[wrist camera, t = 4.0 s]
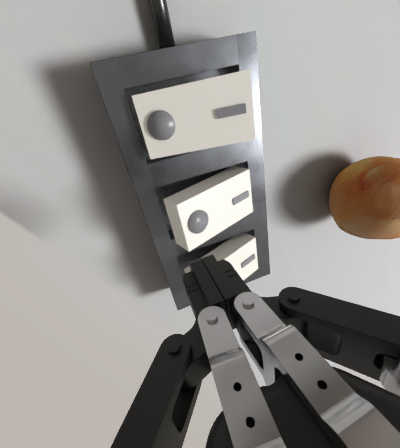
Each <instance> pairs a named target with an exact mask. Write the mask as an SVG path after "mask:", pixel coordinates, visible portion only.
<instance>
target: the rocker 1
mask: <svg viewBox="0 0 400 448" xmlns="http://www.w3.org/2000/svg"><path fill="white" fill-rule="evenodd" d="M132 99H133V103H134V106H135V109H136V113H137V116H138V119H139V123H140V126H141V129H142V133H143V136H144V139H145V143H146V146H147V149H148V153H149V156H150V159H155V158H161V157H166V156H171V155H177V154H182V153H187V152H192V151H198V150H203V149H208V148H213V147H219V146H224V145H229V144H235V143H240V142H245V141H250V140H255V127H254V113H253V99H252V85H251V71H250V69H248V70H243V71H239V72H235V73H230V74H226V75H221V76H217V77H212V78H208V79H204V80H199V81H195V82H190V83H186V84H181V85H177V86H173V87H168V88H164V89H159V90H155V91H150V92H146V93H142V94H137V95H133V96H132Z"/></svg>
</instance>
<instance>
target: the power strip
mask: <svg viewBox="0 0 400 448" xmlns="http://www.w3.org/2000/svg"><path fill="white" fill-rule="evenodd" d="M149 1H150V6H151V10H152V15H153V19H154V23H155V28H156V32H157V37H158V41H159V46H160V49H158V50H153V51H148V52H143V53H138V54H132V55H127V56H122V57H117V58H112V59H106V60H101V61H96V62H91V63H90V65H91V68H92V71H93V73H94V76H95V79H96V82H97V85H98V88H99V90H100V93H101V96H102V99H103V102H104V104H105V107H106V110H107V113H108V116H109V118H110V121H111V124H112V127H113V130H114V132H115V135H116V138H117V141H118V144H119V146H120V149H121V152H122V155H123V158H124V160H125V163H126V166H127V169H128V172H129V175H130V177H131V180H132V183H133V186H134V189H135V191H136V194H137V197H138V200H139V203H140V205H141V208H142V211H143V214H144V217H145V219H146V222H147V225H148V228H149V231H150V233H151V236H152V239H153V242H154V245H155V247H156V250H157V253H158V256H159V259H160V261H161V264H162V267H163V270H164V273H165V276H166V278H167V281H168V284H169V287H170V290H171V292H172V295H173V298H174V301H175V304H176V306H177V309H178V310H180V309H182V308H185V307H187V306H190V302H189V300H188V297H187V293H186V290H185V287H184V284H183V276H184V274H185V271H184V269H185V268H187V267H188V266H190V265H189V263H190V262H192V261H195V260H198V259H200V258H202V257H203V256H205V255H206V254H208V253H209V252H211V251H212V250H214V249H215V248H217V247H218V246H220V245H221V244H223V243H224V242H226V241H227V240H229V239H230V238H232V237H233V236H236V235H239V234H242V233H244V232H245V233H247V234H249V235H252V236H254V237H255V238H256V249H257V260H258V269H257V270H256V271H255V272H253V273H252V274H251V275H250V276H248V277H247V278H246V279H245V280H243V281H244V282H245V283H247V282H250V281H252V280H255V279H257V278H260V277H262V276H265V275H267V274H270V265H269V248H268V231H267V214H266V196H265V179H264V162H263V145H262V127H261V110H260V93H259V76H258V58H257V41H256V31H252V32H247V33H242V34H237V35H231V36H226V37H221V38H216V39H211V40H205V41H200V42H195V43H190V44H184V45H179V46H175V43H174V38H173V33H172V28H171V23H170V18H169V13H168V8H167V3H166V0H149ZM248 69H250V71H251V85H252V99H253V113H254V127H255V140H250V141H245V142H240V143H235V144H229V145H224V146H219V147H213V148H208V149H203V150H198V151H192V152H187V153H182V154H177V155H171V156H166V157H161V158H155V159H150V156H149V153H148V149H147V146H146V143H145V139H144V136H143V133H142V129H141V126H140V123H139V119H138V116H137V113H136V109H135V106H134V103H133V99H132V96H133V95H137V94H142V93H146V92H150V91H155V90H159V89H164V88H168V87H173V86H177V85H181V84H186V83H190V82H195V81H199V80H204V79H208V78H212V77H217V76H221V75H226V74H230V73H235V72H239V71H243V70H248ZM233 166H235V167H241V168H247V169H249V171H250V182H251V193H252V204H253V212H252V213H250V214H249V215H247V216H245V217H244V218H242V219H241V220H239V221H237V222H236V223H234V224H233V225H231V226H229V227H228V228H226V229H225V230H223V231H222V232H220V233H218V234H217V235H215V236H214V237H212V238H210V239H209V240H207V241H206V242H204V243H202V244H201V245H199V246H198V247H196V248H195V249H193V250H191V251H190V252H189V251H187V250H186V249H184V248H183V247H181V246H180V245H178V244H177V243H176V240H175V237H174V234H173V230H172V227H171V224H170V220H169V217H168V214H167V210H166V207H165V204H164V200H163V199H165V198H167V197H169V196H171V195H174V194H176V193H178V192H180V191H182V190H184V189H186V188H188V187H190V186H193V185H195V184H197V183H199V182H201V181H203V180H205V179H207V178H210V177H212V176H214V175H216V174H218V173H220V172H222V171H224V170H226V169H229V168H231V167H233Z"/></svg>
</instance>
